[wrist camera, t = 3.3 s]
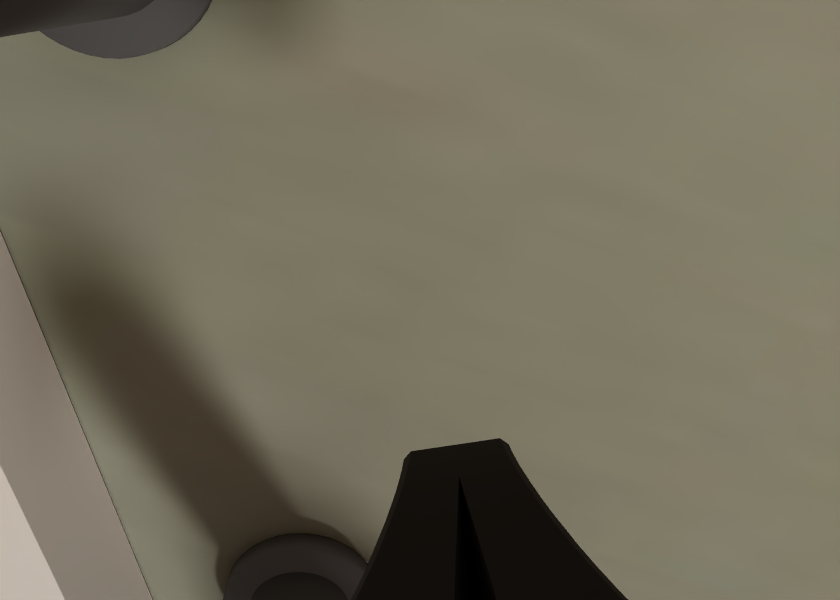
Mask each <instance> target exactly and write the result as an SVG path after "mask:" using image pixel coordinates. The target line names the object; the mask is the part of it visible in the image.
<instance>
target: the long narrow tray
mask: <svg viewBox="0 0 840 600" xmlns="http://www.w3.org/2000/svg"><path fill="white" fill-rule="evenodd" d="M0 600H152V597H151V595H150V592H149V590H148V588H147V585H146V583H145V580H144V578H143V575H142V573H141V571H140V568H139V566H138V563H137V561H136V559H135V556H134V554H133V551H132V549H131V546H130V544H129V542H128V539H127V537H126V534H125V532H124V529H123V527H122V525H121V522H120V520H119V517H118V515H117V513H116V510H115V508H114V505H113V503H112V500H111V498H110V496H109V493H108V491H107V488H106V486H105V483H104V481H103V479H102V476H101V474H100V471H99V469H98V467H97V464H96V462H95V459H94V457H93V454H92V452H91V450H90V447H89V445H88V442H87V440H86V437H85V435H84V433H83V430H82V428H81V425H80V423H79V421H78V418H77V416H76V413H75V411H74V408H73V406H72V404H71V401H70V399H69V396H68V394H67V391H66V389H65V387H64V384H63V382H62V379H61V377H60V375H59V372H58V370H57V367H56V365H55V362H54V360H53V358H52V355H51V353H50V350H49V348H48V345H47V343H46V341H45V338H44V336H43V333H42V331H41V329H40V326H39V324H38V321H37V319H36V316H35V314H34V312H33V309H32V307H31V304H30V302H29V299H28V297H27V295H26V292H25V290H24V287H23V285H22V283H21V280H20V278H19V275H18V273H17V270H16V268H15V266H14V263H13V261H12V258H11V256H10V254H9V251H8V249H7V246H6V244H5V241H4V239H3V237H2V234H1V232H0Z"/></svg>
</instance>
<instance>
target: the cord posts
mask: <svg viewBox="0 0 840 600" xmlns="http://www.w3.org/2000/svg"><path fill="white" fill-rule="evenodd" d="M211 1H212V0H0V37H4V36H10V35H16V34H22V33H28V32H34V31H40V32H42V33H43V34H45V35H46V36H47V37H49V38H51V39H52V40H54V41H56V42H58V43H59V44H61V45H63V46H65V47H68V48H70V49H72V50H74V51H77V52H81V53H84V54H87V55H91V56H97V57H102V58H118V59H120V58H130V57H136V56H140V55H145V54H148V53H151V52H154V51H157V50H160V49H162V48H165V47H167V46H169V45H171V44H173V43H174V42H176V41H178V40H180V39H181V38H182V37H183V36H185V35H186V34H187V33H188V32H190V31H191V30H192V29H193V28H194V26H195V25H196V24H197V23H198V22H199V21H200V20H201V18H202V17H203V15H204V14H205V12H206V11H207V9H208V7H209V5H210V3H211ZM366 567H367V563H366V562H365V561H364V560H363V558H362V557H361V556H360V555H359V554H357V553H356V552H355V551H353V550H352V549H351V548H349V547H347V546H346V545H344V544H342V543H340V542H337V541H335V540H332V539H329V538H326V537H321V536H317V535H309V534H291V535H283V536H278V537H274V538H271V539H268V540H265V541H263V542H261V543H259V544H257V545H255V546H253V547H252V548H250V549H249V550H248V551H246V552H245V553H244V554H243V555H242V556H241V557H240V558H239V559H238V560H237V562H236V563H235V565H234V566H233V568H232V570H231V572H230V575H229V579H228V583H227V586H226V590H225V594H224V598H223V600H351V599H352V597H353V595H354V593H355V591H356V588H357V586H358V584H359V582H360V580H361V578H362V576H363V574H364V572H365V570H366Z"/></svg>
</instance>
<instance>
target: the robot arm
mask: <svg viewBox="0 0 840 600" xmlns="http://www.w3.org/2000/svg"><path fill="white" fill-rule="evenodd" d="M351 600H628V599H627V598H626V597H625V596H624V595H623V594H622V593H621V592H620V591H619V590H618V589H617V588H616V587H615V586H614V585H613V583H612V582H611V581H610V580H609V579H608V578H607V577H606V576H605V575H604V574H603V573H602V572H601V570H600V569H599V568H598V567H597V566H596V565H595V564H594V563H593V562H592V560H591V559H590V558H589V557H588V556H587V555H586V554H585V552H584V551H583V550H582V549H581V548H580V547H579V545H578V544H577V543H576V542H575V540H574V539H573V538H572V537H571V535H570V534H569V533H568V532H567V530H566V529H565V528H564V527H563V526H562V524H561V523H560V522H559V521H558V519H557V518H556V517H555V516H554V514H553V513H552V512H551V510H550V509H549V508H548V506H547V505H546V504H545V502H544V501H543V500H542V498H541V497H540V495H539V494H538V493H537V491H536V490H535V488H534V487H533V485H532V484H531V482H530V481H529V479H528V478H527V476H526V475H525V473H524V472H523V470H522V468H521V467H520V465H519V464H518V462H517V460H516V458H515V456H514V455H513V453H512V451H511V449H510V446H509V444H507V443H506V442H504V441H503V440H502V439H500V438H499V439H492V440H485V441H478V442H472V443H465V444H458V445H451V446H444V447H438V448H431V449H424V450H417V451H411V452H410V453H409V454H408V455H407V457H406V458H405V459H404V462H403V467H402V472H401V476H400V479H399V483H398V486H397V490H396V493H395V496H394V499H393V502H392V505H391V508H390V510H389V513H388V516H387V519H386V522H385V524H384V527H383V529H382V531H381V534H380V536H379V539H378V541H377V544H376V546H375V548H374V551H373V553H372V556H371V558H370V561H369V563H368V565H367V567H366V570H365V572H364V574H363V576H362V578H361V580H360V582H359V584H358V586H357V588H356V591H355V593H354V595H353V597H352V599H351Z"/></svg>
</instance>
